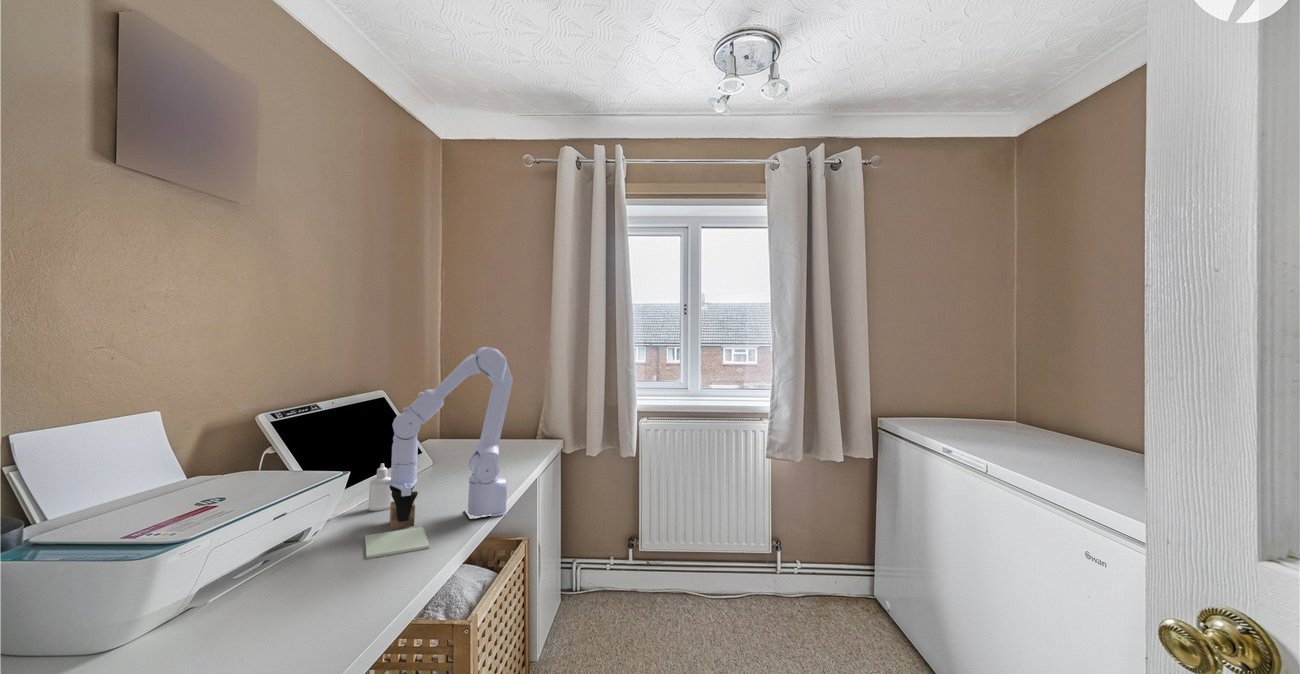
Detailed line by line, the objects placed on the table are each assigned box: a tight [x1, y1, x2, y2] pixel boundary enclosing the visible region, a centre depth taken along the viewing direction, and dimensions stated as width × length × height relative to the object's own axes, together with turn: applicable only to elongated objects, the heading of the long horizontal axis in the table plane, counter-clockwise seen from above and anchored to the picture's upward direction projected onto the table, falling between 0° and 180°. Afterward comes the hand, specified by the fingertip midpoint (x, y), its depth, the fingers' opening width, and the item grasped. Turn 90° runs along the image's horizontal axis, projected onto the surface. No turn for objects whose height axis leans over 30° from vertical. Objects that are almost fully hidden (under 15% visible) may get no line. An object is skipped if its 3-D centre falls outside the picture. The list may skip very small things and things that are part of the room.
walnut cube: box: [389, 501, 416, 530], centre depth 122 cm, size 5×5×5 cm
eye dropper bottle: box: [368, 462, 394, 512], centre depth 132 cm, size 4×6×12 cm
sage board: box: [364, 526, 430, 560], centre depth 110 cm, size 12×12×1 cm
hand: (402, 517), depth 122 cm, fingers closed on walnut cube, 5 cm apart
